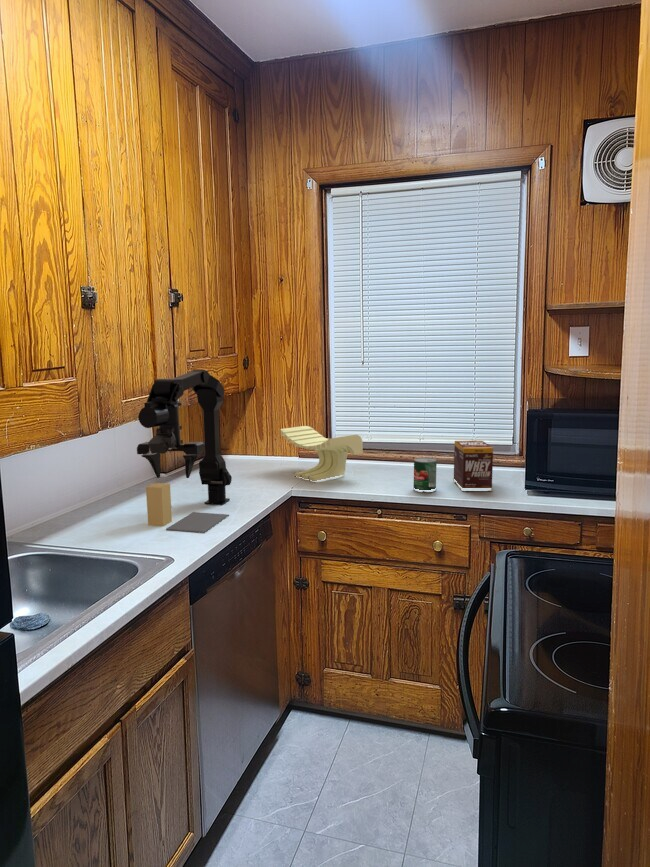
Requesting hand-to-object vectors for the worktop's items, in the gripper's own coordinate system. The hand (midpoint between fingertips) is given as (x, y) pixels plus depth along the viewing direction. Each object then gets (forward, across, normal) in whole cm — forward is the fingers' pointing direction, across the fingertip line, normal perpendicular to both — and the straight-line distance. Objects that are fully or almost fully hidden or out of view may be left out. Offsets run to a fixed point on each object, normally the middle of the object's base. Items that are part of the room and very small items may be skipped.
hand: (173, 477), depth 179 cm
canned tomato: (+16, +65, +59) cm, 89 cm away
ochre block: (+14, -7, +3) cm, 16 cm away
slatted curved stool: (+14, +24, +71) cm, 76 cm away
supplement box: (+17, +81, +68) cm, 107 cm away
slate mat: (+15, +4, +6) cm, 16 cm away
